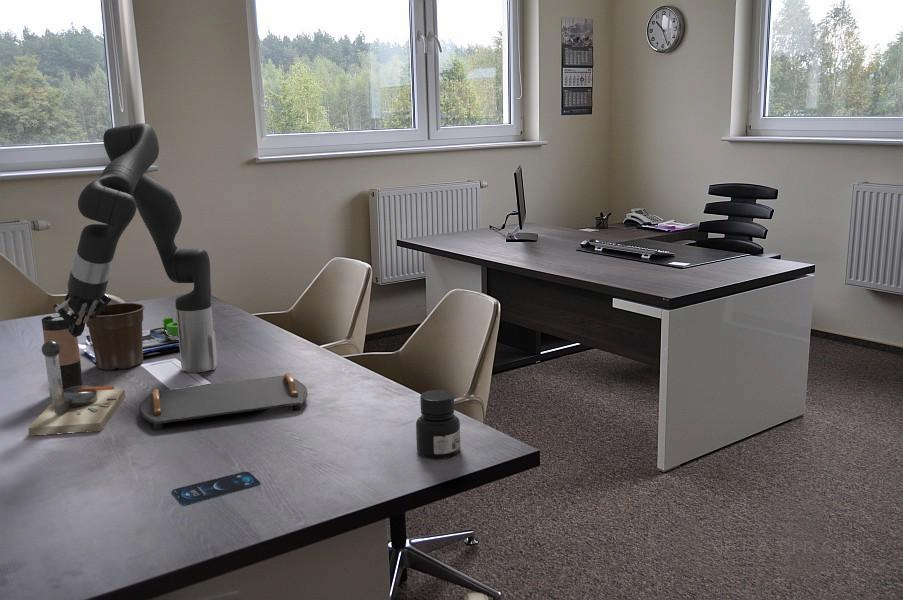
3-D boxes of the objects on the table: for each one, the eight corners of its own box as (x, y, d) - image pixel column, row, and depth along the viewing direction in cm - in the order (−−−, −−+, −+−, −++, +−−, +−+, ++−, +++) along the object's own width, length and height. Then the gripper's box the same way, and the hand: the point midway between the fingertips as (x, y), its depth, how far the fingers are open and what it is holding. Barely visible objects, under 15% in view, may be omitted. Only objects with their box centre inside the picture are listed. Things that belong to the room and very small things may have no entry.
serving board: (140, 436, 184) (138, 410, 183) (140, 404, 205) (137, 379, 204) (316, 412, 197) (314, 386, 196) (298, 383, 218) (296, 360, 217)
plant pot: (75, 369, 233) (68, 313, 230) (118, 354, 248) (112, 300, 244) (121, 375, 227) (114, 317, 224) (162, 359, 242) (156, 304, 238)
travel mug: (71, 400, 208) (61, 321, 204) (44, 398, 209) (34, 320, 205) (90, 390, 215) (81, 314, 211) (64, 388, 217) (54, 313, 212)
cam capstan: (119, 392, 206) (111, 324, 202) (103, 414, 191) (94, 340, 187) (63, 396, 204) (54, 327, 200) (42, 418, 189) (33, 344, 185)
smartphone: (262, 484, 158) (182, 505, 150) (262, 487, 158) (182, 508, 150) (247, 470, 164) (170, 489, 156) (248, 473, 164) (170, 492, 156)
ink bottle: (444, 464, 165) (442, 406, 163) (407, 455, 170) (405, 398, 167) (469, 447, 173) (468, 391, 171) (433, 439, 178) (432, 385, 175)
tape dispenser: (193, 339, 264) (192, 325, 263) (169, 342, 261) (168, 327, 260) (185, 329, 277) (184, 315, 276) (163, 332, 274) (161, 318, 273)
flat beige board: (125, 396, 210) (124, 387, 209) (101, 431, 186) (99, 421, 186) (61, 400, 208) (60, 391, 207) (29, 436, 184) (28, 426, 184)
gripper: (107, 255, 182) (91, 316, 190) (51, 267, 171) (36, 331, 179) (128, 275, 179) (111, 336, 188) (73, 288, 168) (57, 353, 177)
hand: (74, 334), depth 183 cm, fingers closed
